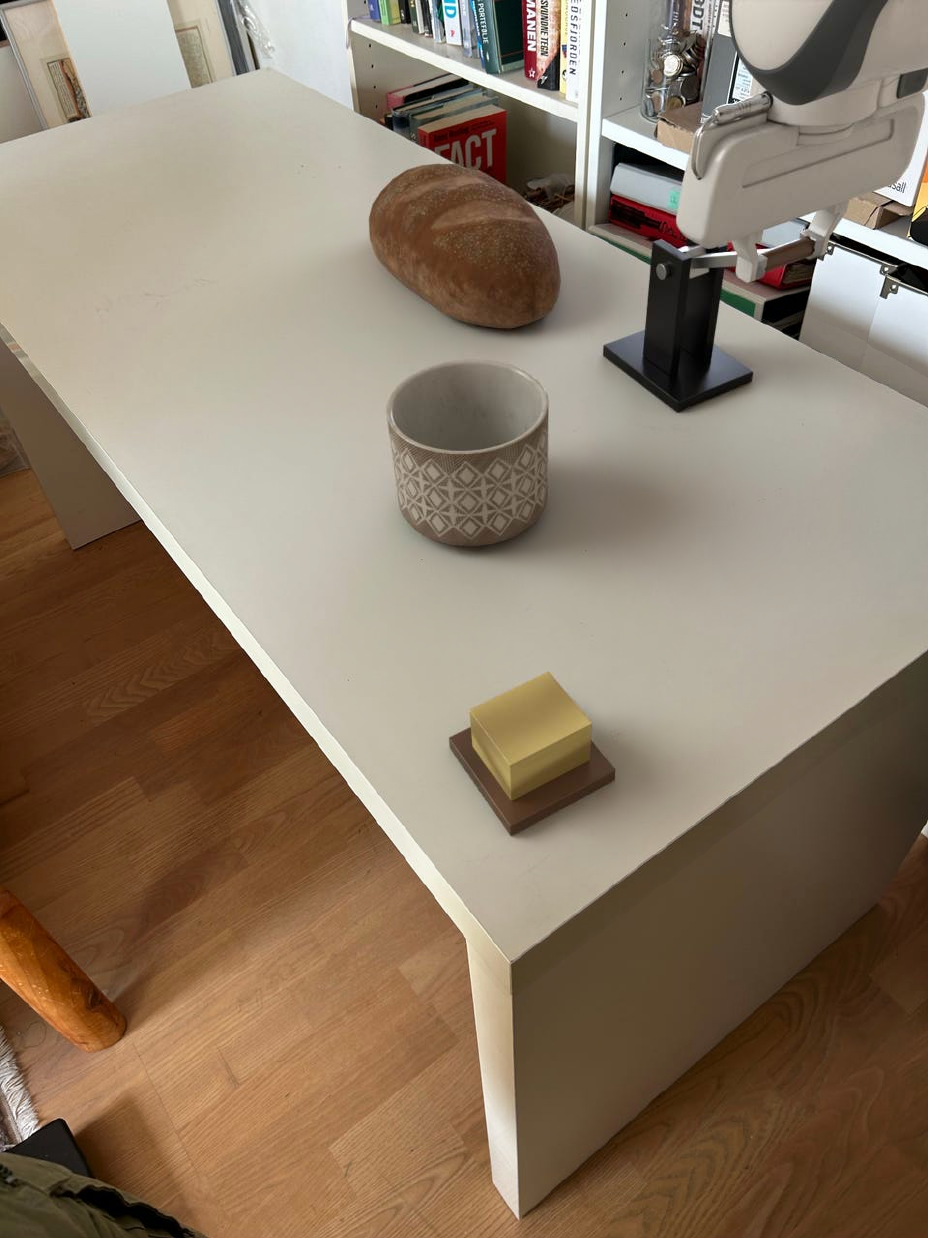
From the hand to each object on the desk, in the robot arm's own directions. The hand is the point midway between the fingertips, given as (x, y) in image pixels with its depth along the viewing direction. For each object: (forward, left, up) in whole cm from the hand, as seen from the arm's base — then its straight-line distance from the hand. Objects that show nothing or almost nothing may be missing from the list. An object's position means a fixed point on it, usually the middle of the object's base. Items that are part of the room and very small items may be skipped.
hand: (780, 265), depth 77 cm
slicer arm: (+5, 0, -3) cm, 6 cm away
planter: (+4, +27, -15) cm, 31 cm away
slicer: (+11, 0, -15) cm, 19 cm away
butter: (-21, +37, -15) cm, 45 cm away
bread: (+39, +8, -15) cm, 43 cm away
